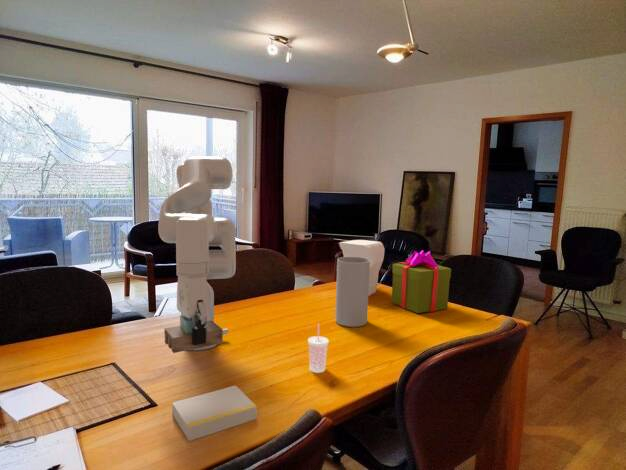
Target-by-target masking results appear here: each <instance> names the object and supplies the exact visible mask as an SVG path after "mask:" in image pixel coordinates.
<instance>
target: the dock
mask: <svg viewBox="0 0 626 470" xmlns="http://www.w3.org/2000/svg"><path fill="white" fill-rule="evenodd" d="M171 408H172V409H171V410H172V411H171V412H172V413H171V414H172V416H173V418H174V420H175V421H176V423H177V424H178V426H179V427H180V430H181V431H182V432H183V434H184V435H185V437H186V439H187V440H188V442H191V441H194V440H197V439H199V438H203V437H206V436H209V435H211V434H215V433H219V432H221V431H224V430H228V429H230V428H233V427H236V426H238V425H243V424H246V423H249V422H251V421H255V420H257V419H258V407H257V405H256V404H255V403H254V402H253V401H252V400H251V399H250V398H249V397H248V396H247V395H246V394H245V393H244V392H243V391H242V390H241V389H240V388H239V387H238V386H237V385H231V386H229V387H225V388H221V389H217V390H213V391H210V392H206V393H202V394H199V395H196V396H192V397H188V398H184V399H181V400H177V401H173V402H172V403H171Z"/></svg>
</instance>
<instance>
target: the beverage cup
mask: <svg viewBox="0 0 626 470" xmlns="http://www.w3.org/2000/svg"><path fill="white" fill-rule="evenodd" d="M329 342H330V341H329V338H328V337H324V336H320V322H319V323H317V336H310V337H308V339H307V344H308V353H309V354H308V357H309V360H308V361H309V371H310V372H312V373H316V374H317V373H318V374H319V373H323V372H325V371H326V362H327V352H328V345H329Z"/></svg>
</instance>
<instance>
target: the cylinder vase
mask: <svg viewBox="0 0 626 470" xmlns="http://www.w3.org/2000/svg"><path fill="white" fill-rule="evenodd" d="M369 269H370V260H369V259H366V258H361V257H344V256H341V257H338V258H337V261H336V285H335V289H336V291H335V317H334V319H335V322H336V324H338V325H340V326H343V327H348V328H349V327H350V328H359V327H362V326H365V325H366V324H367V322H368V312H369V311H368V310H369V309H368V308H369V307H368V305H369V296H368V290H369Z"/></svg>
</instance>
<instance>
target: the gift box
mask: <svg viewBox="0 0 626 470" xmlns="http://www.w3.org/2000/svg"><path fill="white" fill-rule="evenodd" d="M431 253H432V252H431V251H428V252H425V251H424V249H423V250H421V251H420V252H418V251H416V250H414V251H413V253H411V255H410V256H408V258H406V260H405V262H404V261H402V262H401V261H399V262H397V263H392V271H391V272H392V284H391V285H392V289H391V303H393V304H395V305H398V306H400V307H401V308H402V309H405V310H409V311H411V312H414V313H416V314H421V313H426V312H429V313H431V312H433V313H434V312H435V311H439V310H445V309H448V306H449V294H450V293H449V291H450V280H451V277H452V268H450V267H447V266H443V265H439V264H438V263H436V261H435V259H434V258H433V256H432V255H431Z"/></svg>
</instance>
